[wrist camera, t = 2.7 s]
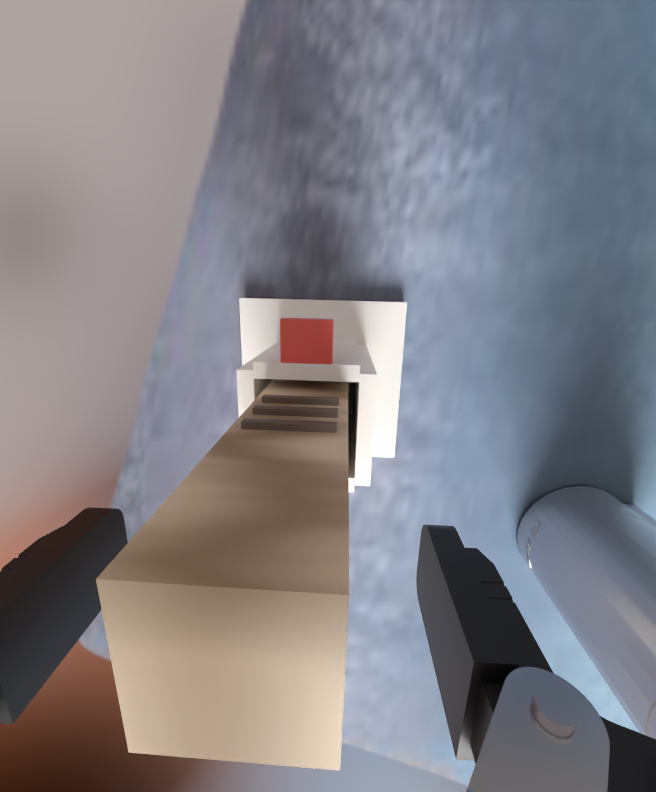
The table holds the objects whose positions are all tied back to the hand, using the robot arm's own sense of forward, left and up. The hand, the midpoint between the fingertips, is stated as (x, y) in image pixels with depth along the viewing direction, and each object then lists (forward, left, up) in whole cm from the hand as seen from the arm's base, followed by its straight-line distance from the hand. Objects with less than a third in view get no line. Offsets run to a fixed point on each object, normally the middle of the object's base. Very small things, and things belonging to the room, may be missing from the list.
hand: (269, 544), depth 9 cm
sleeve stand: (0, 0, -20) cm, 20 cm away
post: (0, 0, -18) cm, 18 cm away
